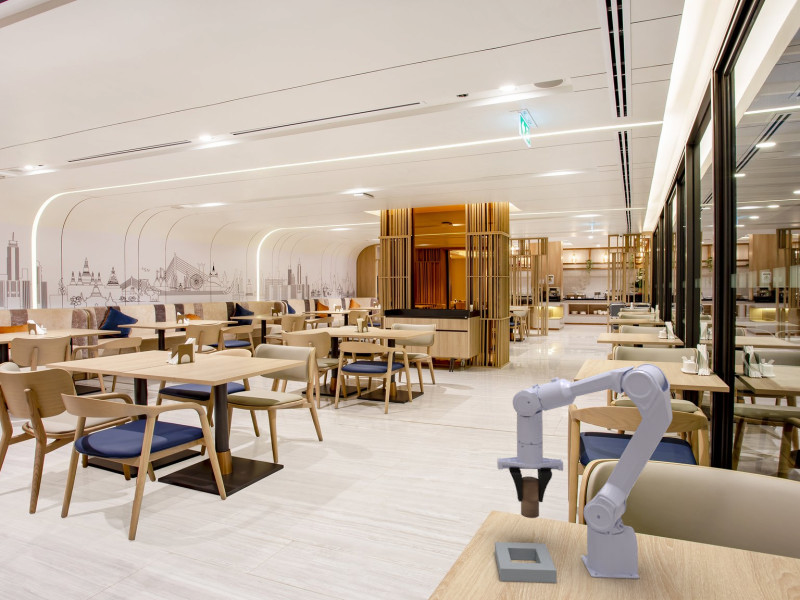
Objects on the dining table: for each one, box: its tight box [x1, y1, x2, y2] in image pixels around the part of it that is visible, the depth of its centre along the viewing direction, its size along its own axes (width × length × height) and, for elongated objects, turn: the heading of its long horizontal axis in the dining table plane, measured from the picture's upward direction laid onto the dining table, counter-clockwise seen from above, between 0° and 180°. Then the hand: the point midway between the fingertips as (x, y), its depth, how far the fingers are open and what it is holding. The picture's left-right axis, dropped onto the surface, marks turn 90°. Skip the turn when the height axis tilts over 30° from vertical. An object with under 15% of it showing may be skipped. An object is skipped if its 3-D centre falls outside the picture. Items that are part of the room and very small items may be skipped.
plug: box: [520, 475, 540, 519], centre depth 118 cm, size 4×4×8 cm
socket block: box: [494, 541, 557, 584], centre depth 108 cm, size 11×11×2 cm
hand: (530, 500), depth 118 cm, fingers closed on plug, 4 cm apart
